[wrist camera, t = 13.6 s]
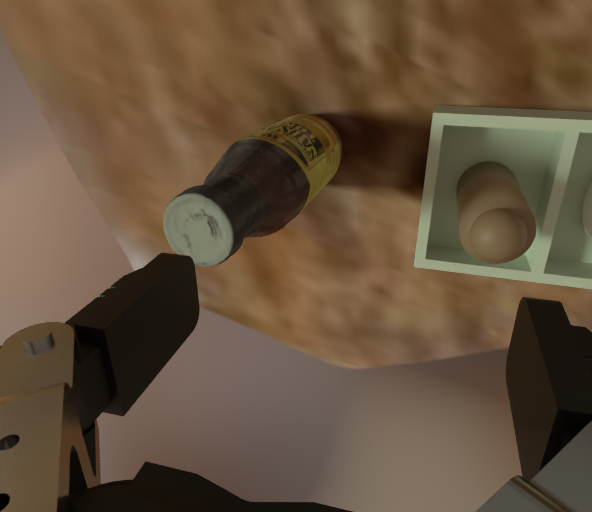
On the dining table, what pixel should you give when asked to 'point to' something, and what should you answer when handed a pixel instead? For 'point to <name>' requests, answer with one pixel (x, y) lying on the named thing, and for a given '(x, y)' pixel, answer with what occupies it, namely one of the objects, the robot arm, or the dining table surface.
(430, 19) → the dining table surface
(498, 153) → the caddy
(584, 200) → the eye dropper bottle
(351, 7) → the dining table surface
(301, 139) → the sauce bottle
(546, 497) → the robot arm
